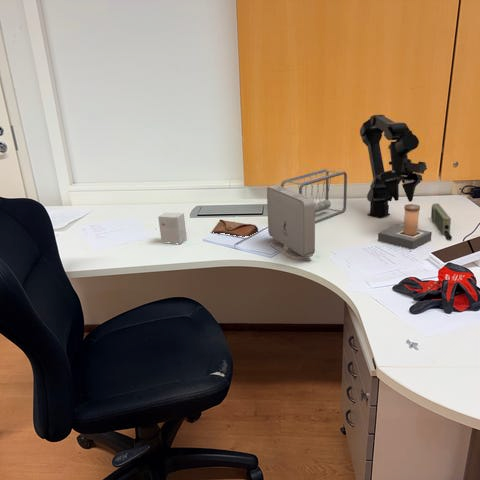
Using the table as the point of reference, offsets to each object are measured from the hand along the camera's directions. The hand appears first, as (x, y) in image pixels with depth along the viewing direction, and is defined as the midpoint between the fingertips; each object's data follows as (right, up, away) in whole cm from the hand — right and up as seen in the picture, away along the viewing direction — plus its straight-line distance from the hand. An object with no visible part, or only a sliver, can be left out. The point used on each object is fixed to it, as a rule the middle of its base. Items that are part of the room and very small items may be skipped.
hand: (403, 201), depth 158 cm
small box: (-83, -15, +9) cm, 85 cm away
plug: (0, -15, -6) cm, 16 cm away
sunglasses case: (-61, -12, +15) cm, 64 cm away
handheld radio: (+16, -10, +5) cm, 20 cm away
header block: (-1, -14, -4) cm, 15 cm away
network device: (-41, -17, -6) cm, 45 cm away
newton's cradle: (-27, -5, +27) cm, 39 cm away
